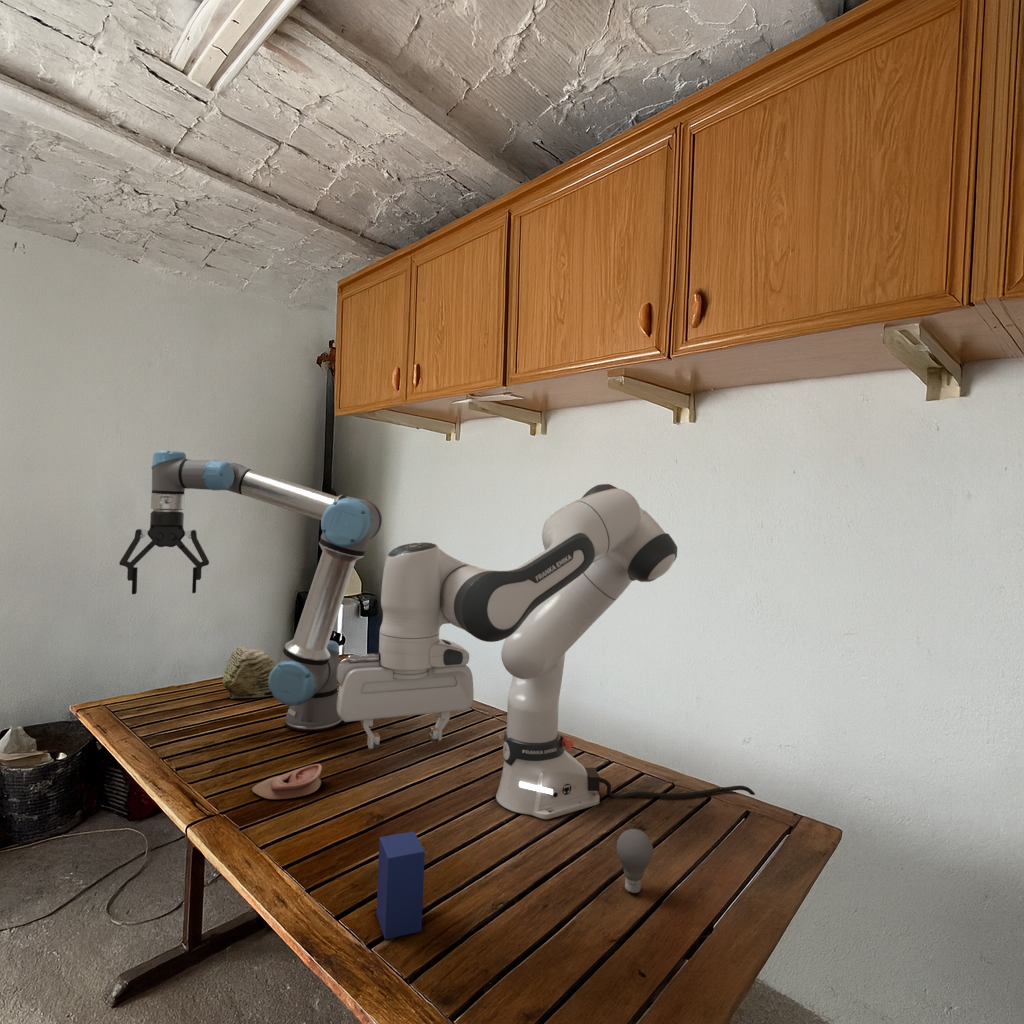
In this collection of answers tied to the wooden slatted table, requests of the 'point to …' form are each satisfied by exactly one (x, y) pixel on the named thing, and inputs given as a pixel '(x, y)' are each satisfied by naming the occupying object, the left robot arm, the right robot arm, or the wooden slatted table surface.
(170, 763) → the wooden slatted table surface
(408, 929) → the block
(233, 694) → the fossil
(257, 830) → the wooden slatted table surface
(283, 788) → the anatomical model
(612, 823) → the wooden slatted table surface
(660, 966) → the wooden slatted table surface
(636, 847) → the light bulb
